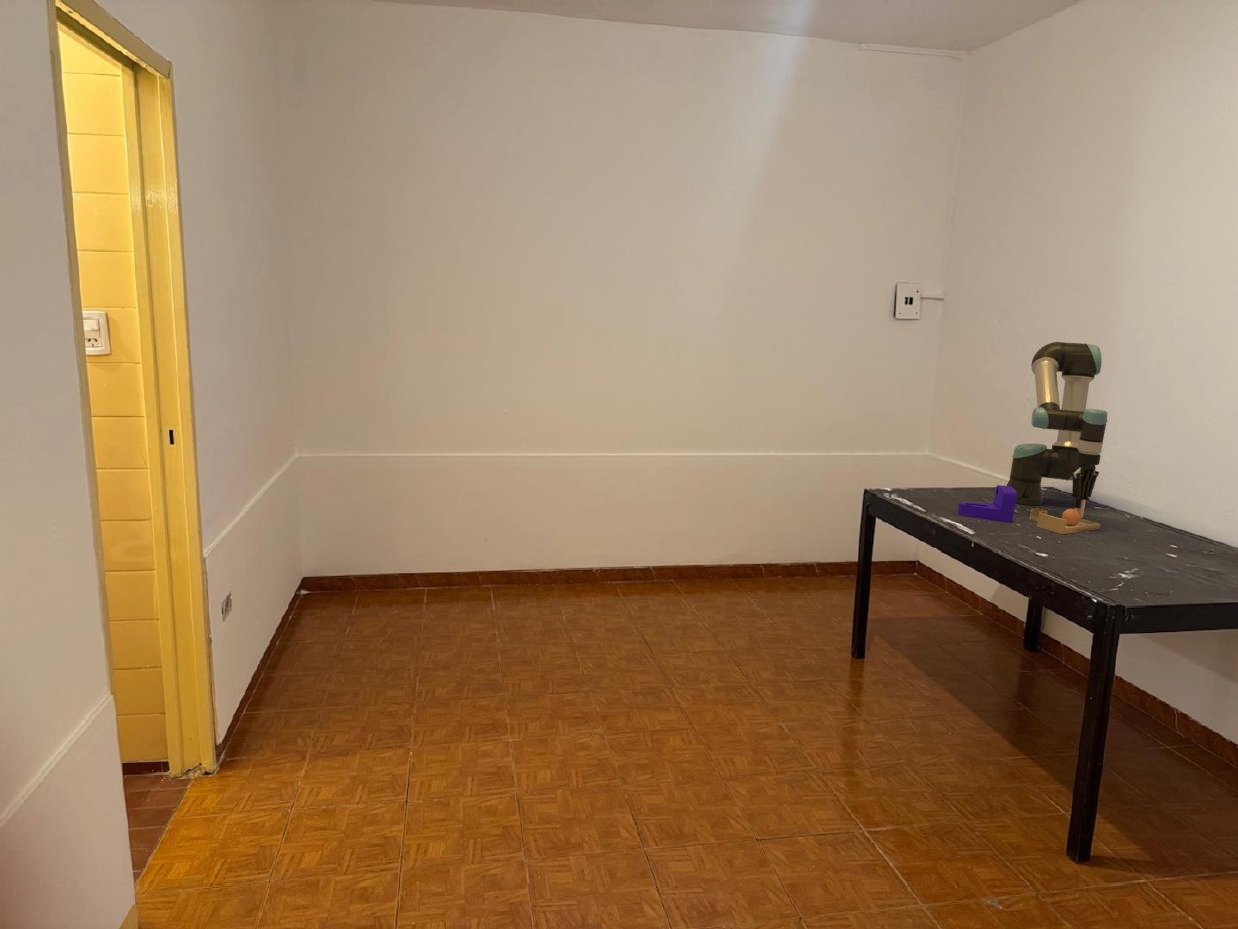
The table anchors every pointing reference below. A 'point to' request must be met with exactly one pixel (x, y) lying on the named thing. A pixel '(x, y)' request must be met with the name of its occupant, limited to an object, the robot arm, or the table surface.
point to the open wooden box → (1036, 513)
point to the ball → (1071, 516)
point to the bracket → (992, 506)
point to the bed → (1064, 524)
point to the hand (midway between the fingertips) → (1078, 516)
